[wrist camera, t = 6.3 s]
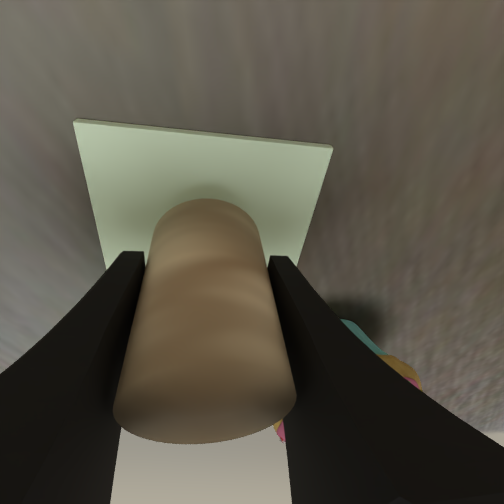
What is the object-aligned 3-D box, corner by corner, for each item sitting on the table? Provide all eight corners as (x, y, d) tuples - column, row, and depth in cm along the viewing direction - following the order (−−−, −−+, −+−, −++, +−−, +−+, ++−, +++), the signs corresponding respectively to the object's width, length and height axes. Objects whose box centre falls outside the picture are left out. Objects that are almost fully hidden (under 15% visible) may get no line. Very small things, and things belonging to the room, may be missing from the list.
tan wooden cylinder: (268, 202, 10) (317, 358, 6) (252, 283, 13) (277, 437, 8) (148, 194, 10) (95, 365, 5) (156, 281, 12) (125, 449, 8)
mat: (330, 144, 11) (333, 148, 11) (290, 275, 16) (292, 280, 16) (76, 118, 10) (72, 122, 10) (110, 271, 14) (108, 277, 14)
